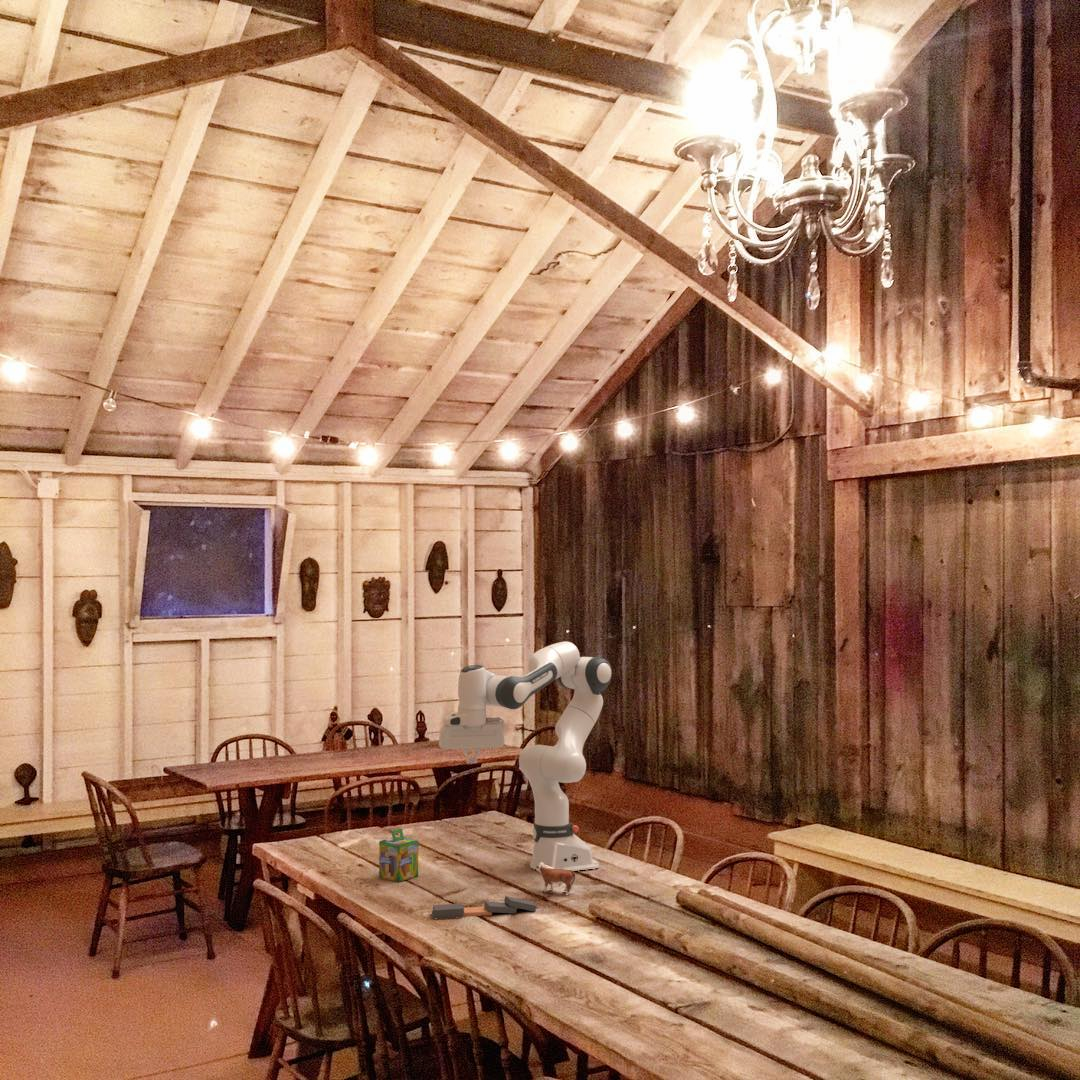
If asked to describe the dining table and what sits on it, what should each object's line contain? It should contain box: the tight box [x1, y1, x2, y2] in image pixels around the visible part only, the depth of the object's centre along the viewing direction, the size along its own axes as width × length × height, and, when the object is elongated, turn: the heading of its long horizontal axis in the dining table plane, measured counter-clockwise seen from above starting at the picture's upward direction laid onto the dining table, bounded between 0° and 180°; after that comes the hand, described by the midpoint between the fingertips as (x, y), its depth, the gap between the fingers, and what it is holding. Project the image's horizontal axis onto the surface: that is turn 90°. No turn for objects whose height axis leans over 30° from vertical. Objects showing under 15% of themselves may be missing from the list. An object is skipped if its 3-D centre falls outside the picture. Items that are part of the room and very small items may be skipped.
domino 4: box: [483, 901, 518, 914], centre depth 305 cm, size 2×5×8 cm
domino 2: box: [431, 910, 464, 920], centre depth 302 cm, size 2×5×8 cm
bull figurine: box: [536, 862, 576, 895], centre depth 326 cm, size 4×13×8 cm, turn 59°
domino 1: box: [432, 902, 465, 916], centre depth 302 cm, size 2×5×8 cm
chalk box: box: [378, 828, 420, 883], centre depth 342 cm, size 9×9×15 cm
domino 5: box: [503, 895, 537, 912], centre depth 307 cm, size 2×5×8 cm
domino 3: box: [463, 906, 493, 917], centre depth 305 cm, size 2×5×8 cm
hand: (471, 763), depth 336 cm, fingers closed
